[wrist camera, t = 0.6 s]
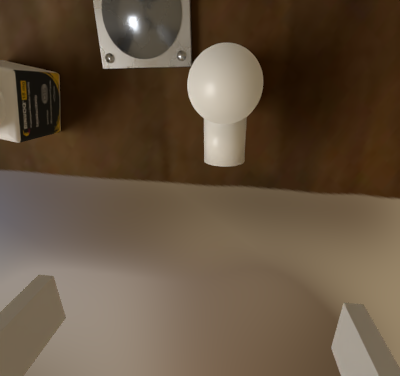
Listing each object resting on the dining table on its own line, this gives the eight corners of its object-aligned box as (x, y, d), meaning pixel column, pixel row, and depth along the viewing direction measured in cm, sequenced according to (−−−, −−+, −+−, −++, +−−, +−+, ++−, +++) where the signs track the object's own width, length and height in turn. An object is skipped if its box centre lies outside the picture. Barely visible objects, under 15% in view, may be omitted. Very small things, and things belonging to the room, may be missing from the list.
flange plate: (90, -42, 25) (86, -46, 24) (189, -51, 24) (187, -55, 23) (106, 69, 29) (102, 68, 28) (192, 66, 28) (191, 66, 27)
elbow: (200, 55, 27) (181, 39, 18) (259, 53, 26) (271, 35, 17) (201, 142, 31) (186, 166, 21) (253, 142, 30) (261, 168, 21)
